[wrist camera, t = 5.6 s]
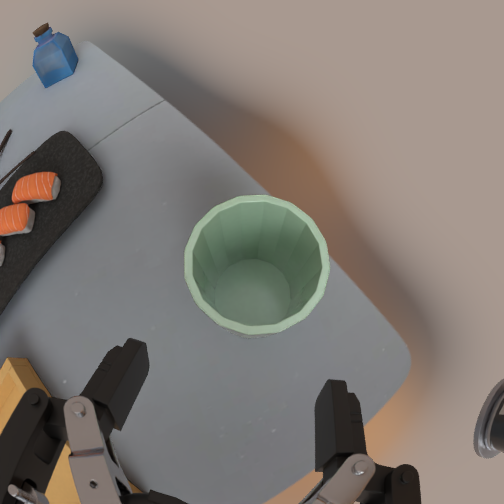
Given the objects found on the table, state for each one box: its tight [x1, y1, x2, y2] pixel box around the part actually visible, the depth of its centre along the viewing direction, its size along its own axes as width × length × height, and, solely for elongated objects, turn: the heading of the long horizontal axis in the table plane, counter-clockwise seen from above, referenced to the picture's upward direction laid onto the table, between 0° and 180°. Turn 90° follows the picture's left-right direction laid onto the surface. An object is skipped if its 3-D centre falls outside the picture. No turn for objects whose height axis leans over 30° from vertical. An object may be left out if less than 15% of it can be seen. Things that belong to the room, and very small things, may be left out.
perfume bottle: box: [33, 23, 78, 88], centre depth 28 cm, size 6×6×12 cm
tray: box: [0, 357, 143, 504], centre depth 14 cm, size 18×17×3 cm
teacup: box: [184, 195, 330, 339], centre depth 17 cm, size 7×7×10 cm
